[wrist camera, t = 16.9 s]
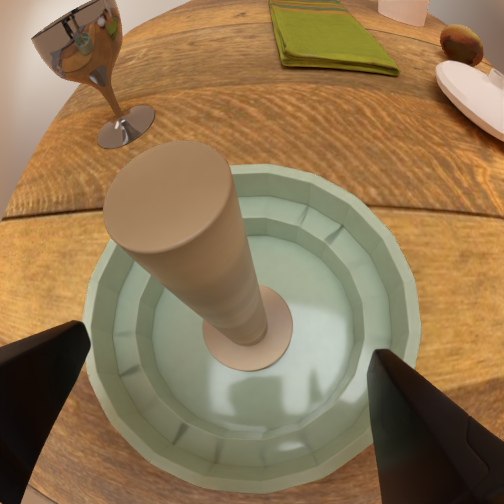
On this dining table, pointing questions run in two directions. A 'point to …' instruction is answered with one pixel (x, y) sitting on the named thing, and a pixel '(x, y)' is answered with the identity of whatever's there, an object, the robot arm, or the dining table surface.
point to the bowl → (279, 374)
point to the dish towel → (326, 37)
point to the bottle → (405, 11)
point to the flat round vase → (475, 94)
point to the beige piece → (199, 248)
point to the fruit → (461, 45)
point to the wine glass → (93, 63)
